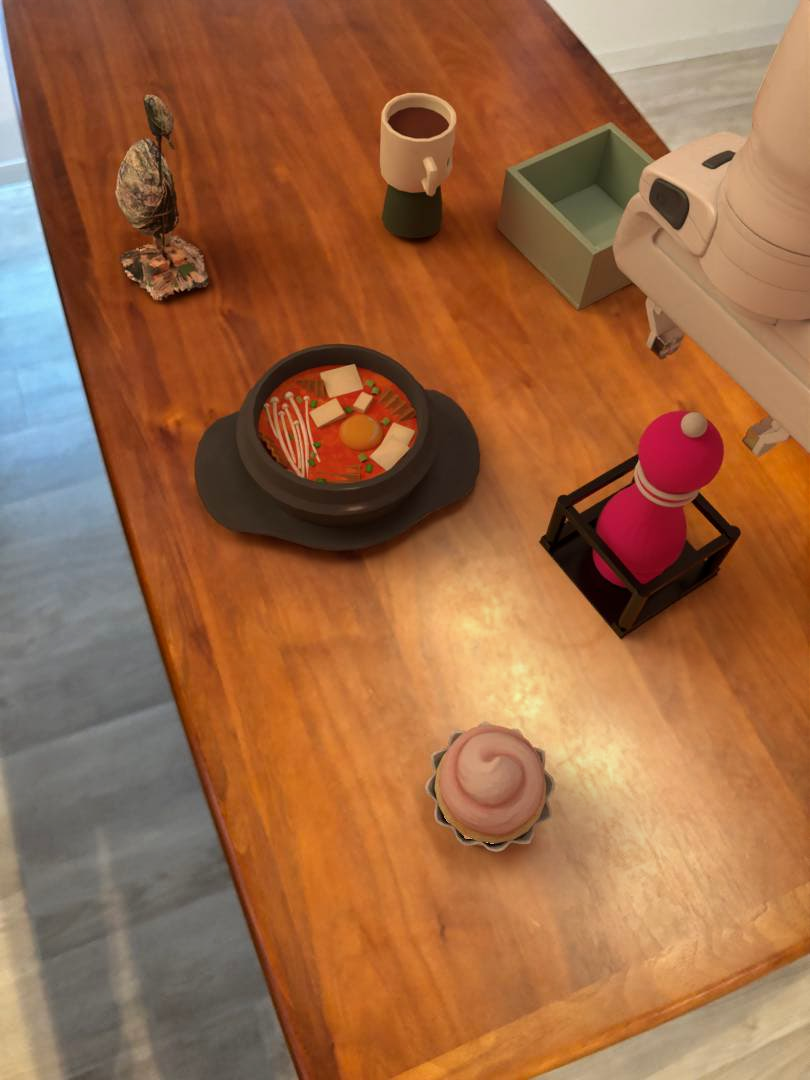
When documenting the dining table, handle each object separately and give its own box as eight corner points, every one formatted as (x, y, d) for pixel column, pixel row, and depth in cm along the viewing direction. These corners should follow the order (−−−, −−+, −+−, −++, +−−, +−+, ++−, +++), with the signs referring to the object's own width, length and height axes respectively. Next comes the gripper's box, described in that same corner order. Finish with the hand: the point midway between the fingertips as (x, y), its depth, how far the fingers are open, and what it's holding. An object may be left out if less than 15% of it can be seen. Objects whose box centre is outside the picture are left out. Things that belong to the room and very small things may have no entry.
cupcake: (537, 740, 78) (560, 693, 69) (551, 864, 73) (578, 831, 65) (417, 743, 77) (425, 697, 69) (423, 868, 73) (433, 835, 64)
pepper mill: (674, 596, 85) (758, 463, 67) (589, 593, 84) (650, 458, 67) (665, 522, 88) (742, 378, 71) (583, 519, 88) (640, 373, 71)
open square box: (595, 181, 110) (611, 121, 103) (678, 258, 104) (701, 201, 98) (496, 227, 105) (505, 168, 99) (577, 311, 100) (593, 254, 94)
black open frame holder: (633, 486, 91) (654, 438, 84) (716, 577, 86) (746, 533, 80) (537, 544, 87) (552, 498, 81) (619, 641, 83) (642, 601, 76)
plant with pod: (191, 216, 104) (159, 37, 87) (215, 295, 99) (186, 121, 82) (112, 231, 103) (63, 52, 85) (133, 312, 97) (85, 138, 80)
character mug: (459, 254, 103) (473, 148, 92) (393, 266, 102) (398, 160, 91) (429, 182, 108) (438, 74, 97) (365, 192, 107) (367, 84, 96)
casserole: (208, 583, 83) (194, 532, 76) (187, 405, 92) (173, 344, 85) (499, 538, 87) (513, 485, 79) (452, 371, 96) (461, 309, 88)
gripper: (972, 340, 52) (855, 485, 64) (704, 115, 60) (644, 282, 72) (890, 392, 50) (785, 532, 62) (623, 152, 58) (576, 317, 70)
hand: (707, 396), depth 67 cm, fingers open, 8 cm apart
